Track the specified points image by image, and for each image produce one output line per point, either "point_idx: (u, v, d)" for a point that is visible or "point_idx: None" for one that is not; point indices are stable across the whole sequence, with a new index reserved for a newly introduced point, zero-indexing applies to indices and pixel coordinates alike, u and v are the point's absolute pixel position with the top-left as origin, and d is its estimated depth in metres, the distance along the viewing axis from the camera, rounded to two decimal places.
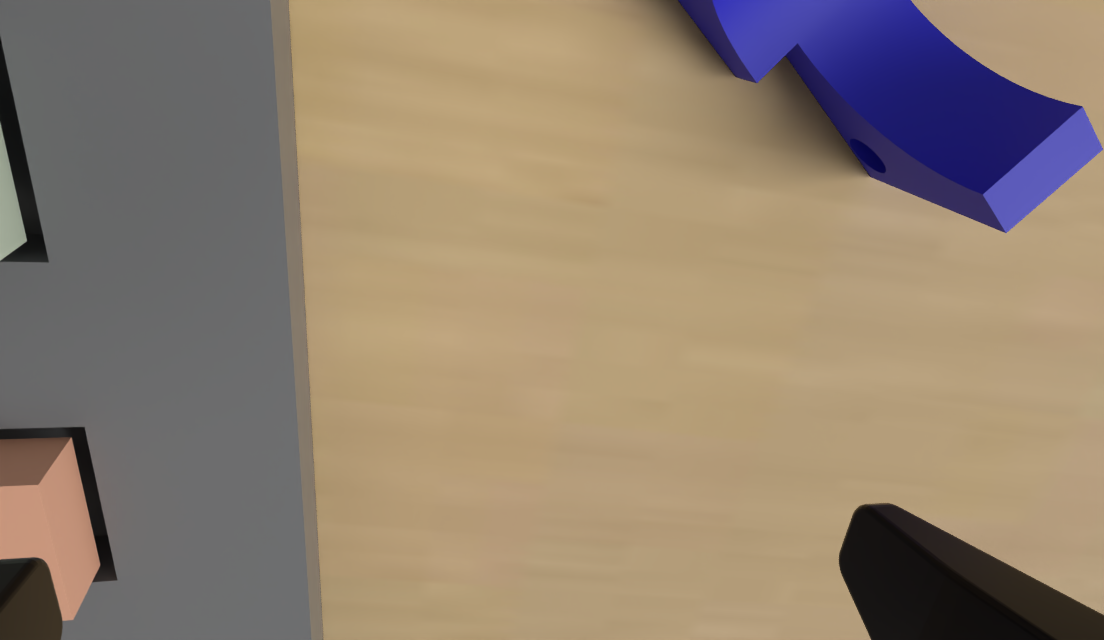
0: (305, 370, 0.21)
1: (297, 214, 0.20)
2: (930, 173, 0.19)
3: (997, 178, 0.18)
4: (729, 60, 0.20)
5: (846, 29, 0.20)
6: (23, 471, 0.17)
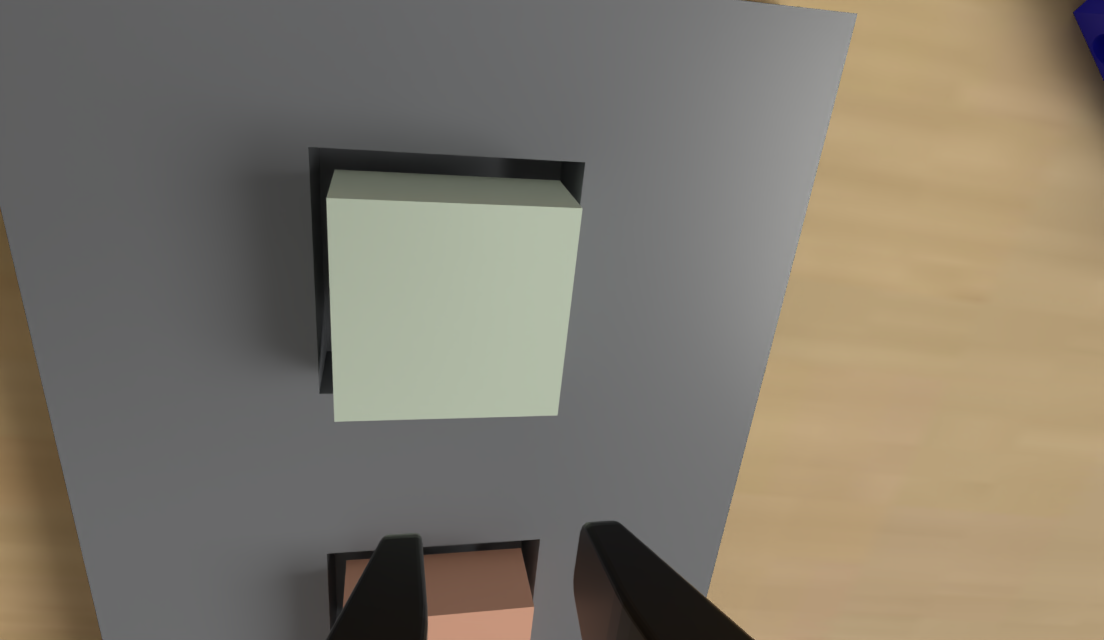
0: None
1: None
2: None
3: None
4: None
5: None
6: (508, 590, 0.18)
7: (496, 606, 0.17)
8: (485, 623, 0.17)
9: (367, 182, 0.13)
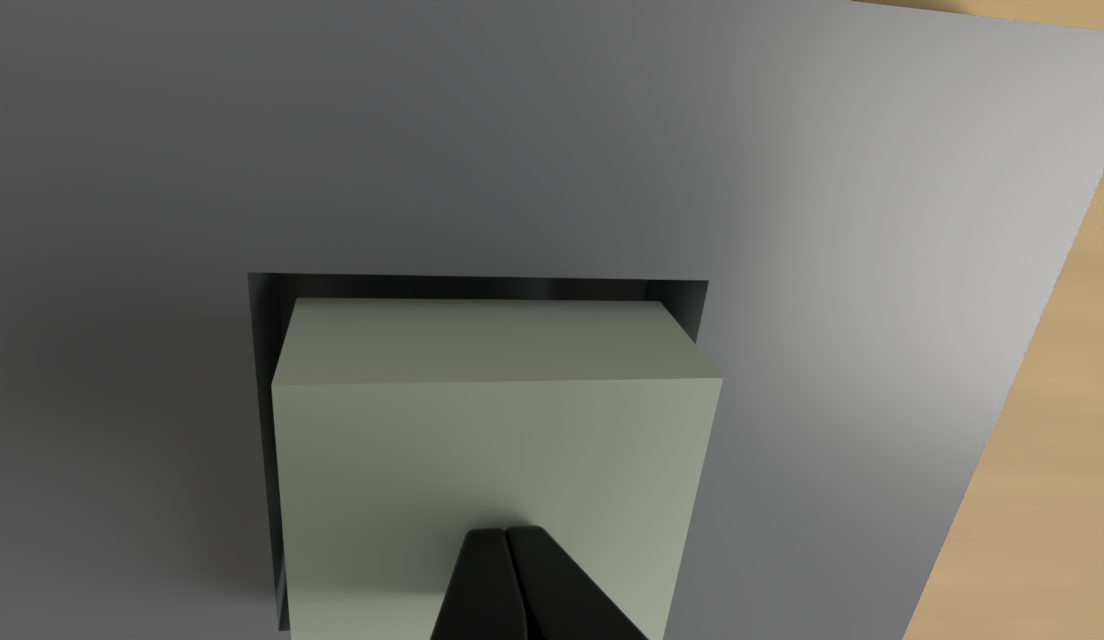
0: None
1: None
2: None
3: None
4: None
5: None
6: None
7: None
8: None
9: (350, 330, 0.08)
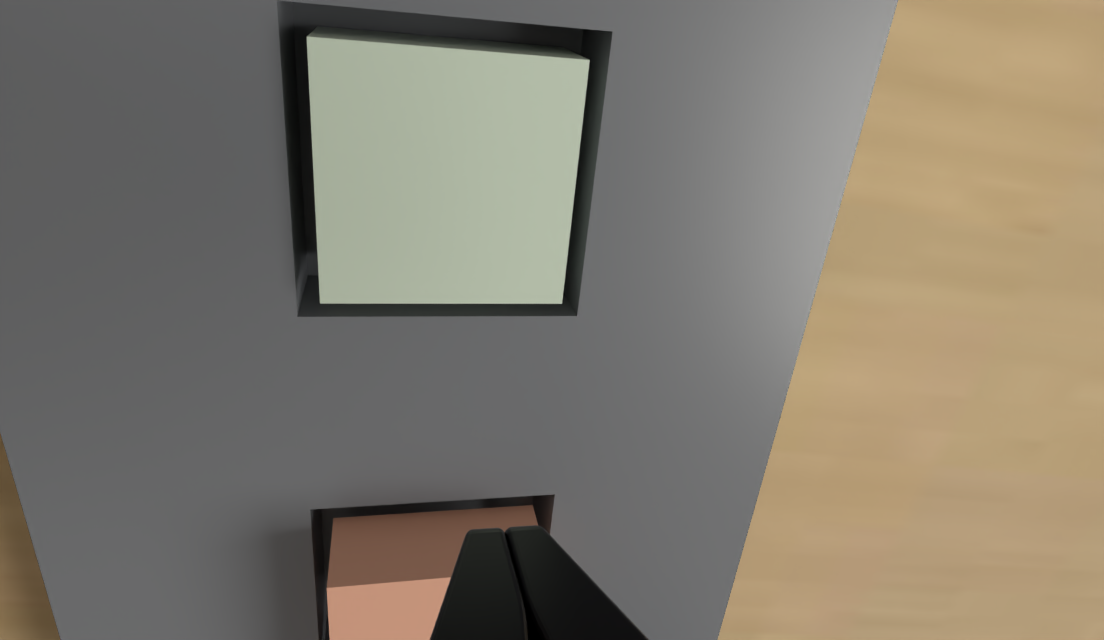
0: None
1: None
2: None
3: None
4: None
5: None
6: None
7: None
8: None
9: (353, 33, 0.12)
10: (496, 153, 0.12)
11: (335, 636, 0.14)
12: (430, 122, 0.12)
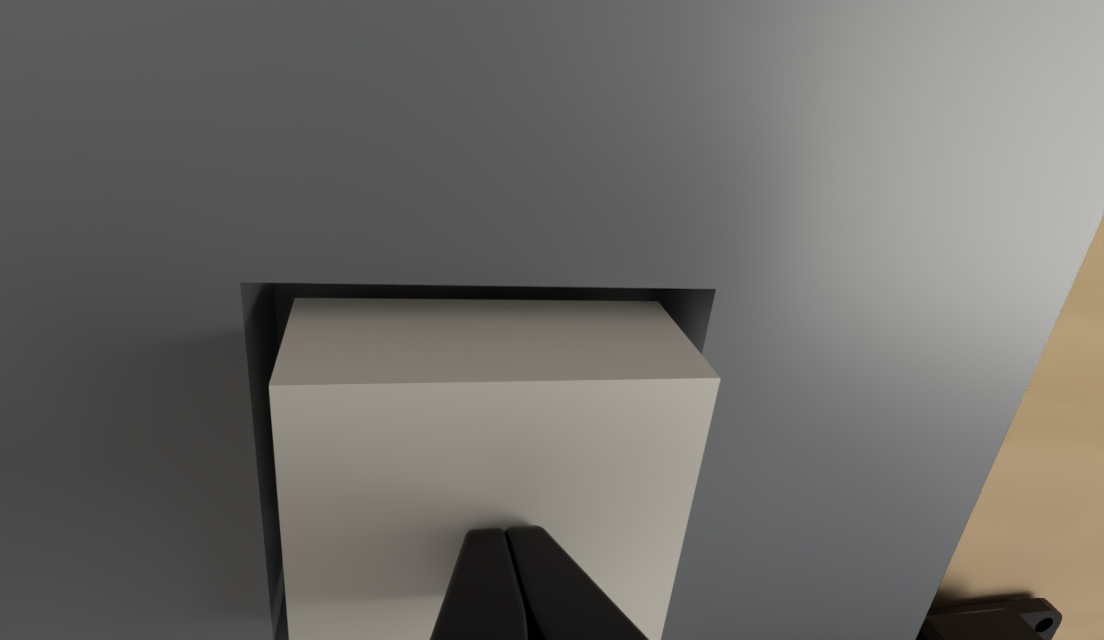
0: None
1: None
2: None
3: None
4: None
5: None
6: None
7: None
8: None
9: None
10: None
11: None
12: None
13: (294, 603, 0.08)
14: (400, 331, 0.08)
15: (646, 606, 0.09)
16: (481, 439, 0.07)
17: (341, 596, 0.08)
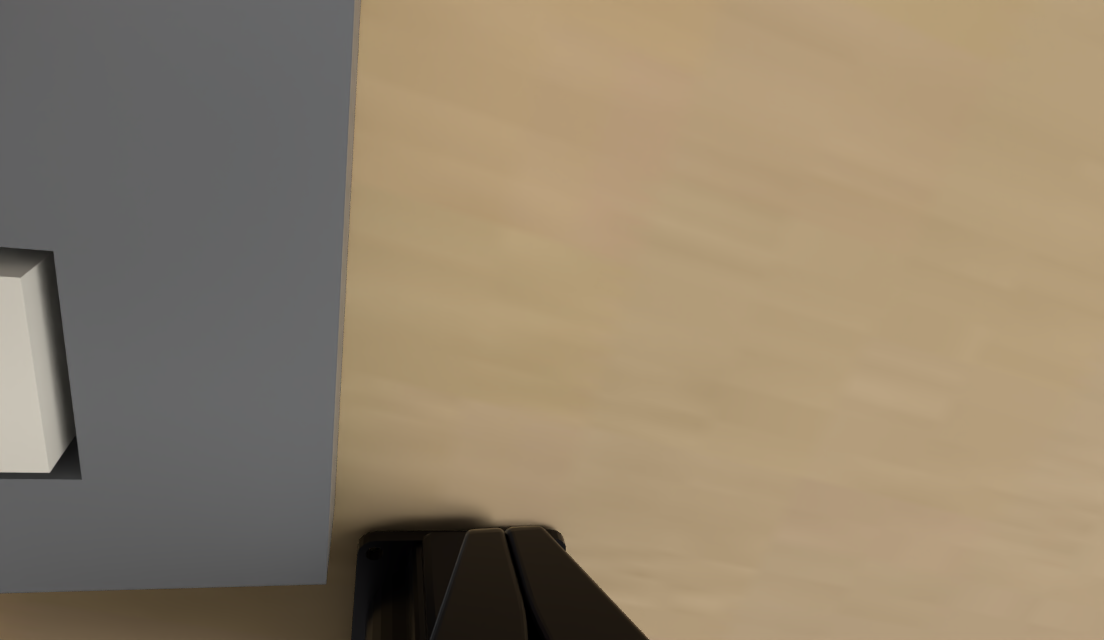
0: None
1: None
2: None
3: None
4: None
5: None
6: None
7: None
8: None
9: None
10: None
11: None
12: None
13: None
14: None
15: (25, 423, 0.14)
16: None
17: None
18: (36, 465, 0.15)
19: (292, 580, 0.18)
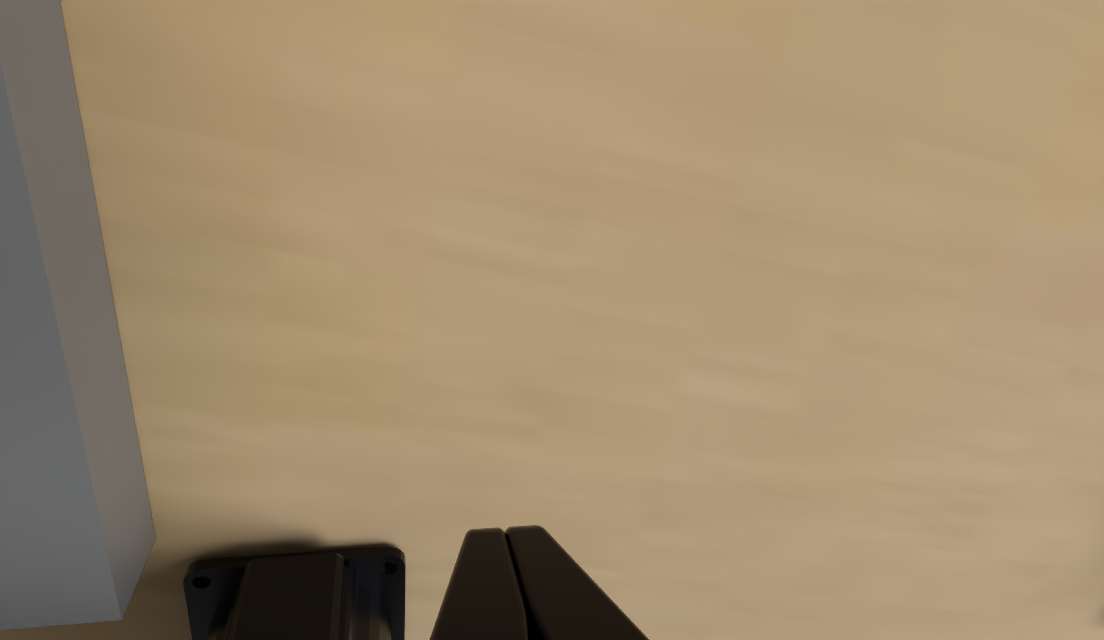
0: None
1: None
2: None
3: None
4: None
5: None
6: None
7: None
8: None
9: None
10: None
11: None
12: None
13: None
14: None
15: None
16: None
17: None
18: None
19: (84, 618, 0.18)
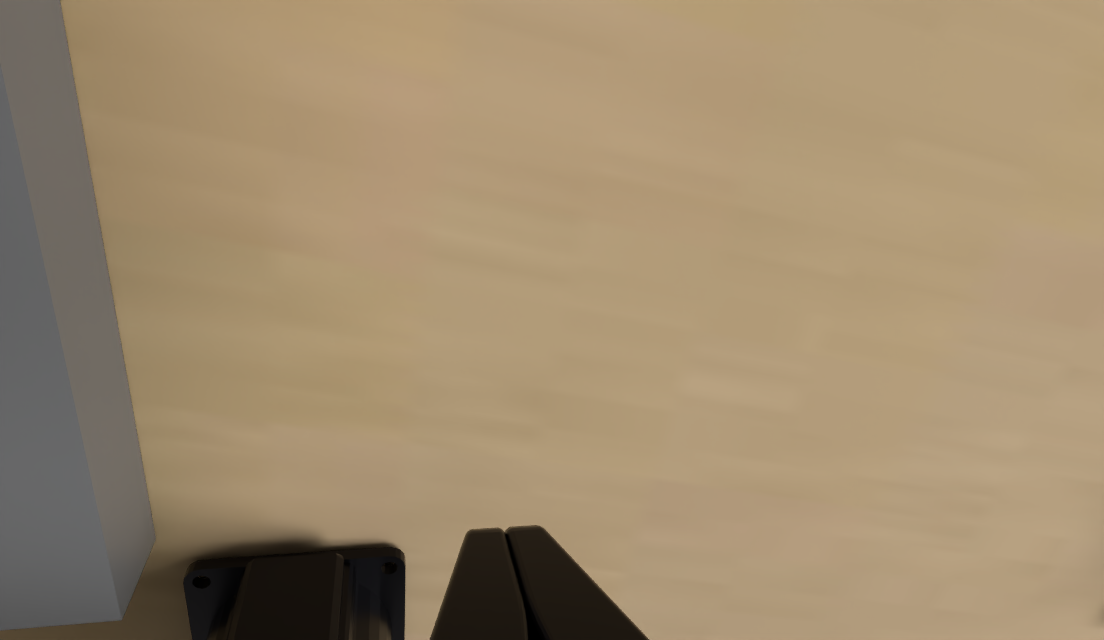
0: None
1: None
2: None
3: None
4: None
5: None
6: None
7: None
8: None
9: None
10: None
11: None
12: None
13: None
14: None
15: None
16: None
17: None
18: None
19: (84, 618, 0.18)
